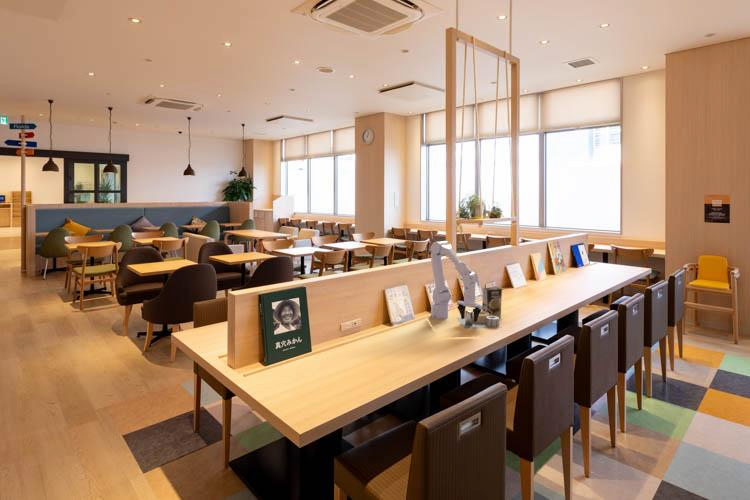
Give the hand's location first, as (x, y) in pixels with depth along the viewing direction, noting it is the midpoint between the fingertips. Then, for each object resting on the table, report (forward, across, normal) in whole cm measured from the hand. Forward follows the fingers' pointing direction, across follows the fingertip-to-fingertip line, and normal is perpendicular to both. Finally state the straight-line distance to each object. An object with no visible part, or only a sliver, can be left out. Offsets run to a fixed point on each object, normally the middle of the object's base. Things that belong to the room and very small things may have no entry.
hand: (469, 320), depth 243 cm
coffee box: (+3, -1, +26) cm, 26 cm away
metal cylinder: (+2, 0, 0) cm, 2 cm away
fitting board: (+3, +2, +6) cm, 8 cm away
